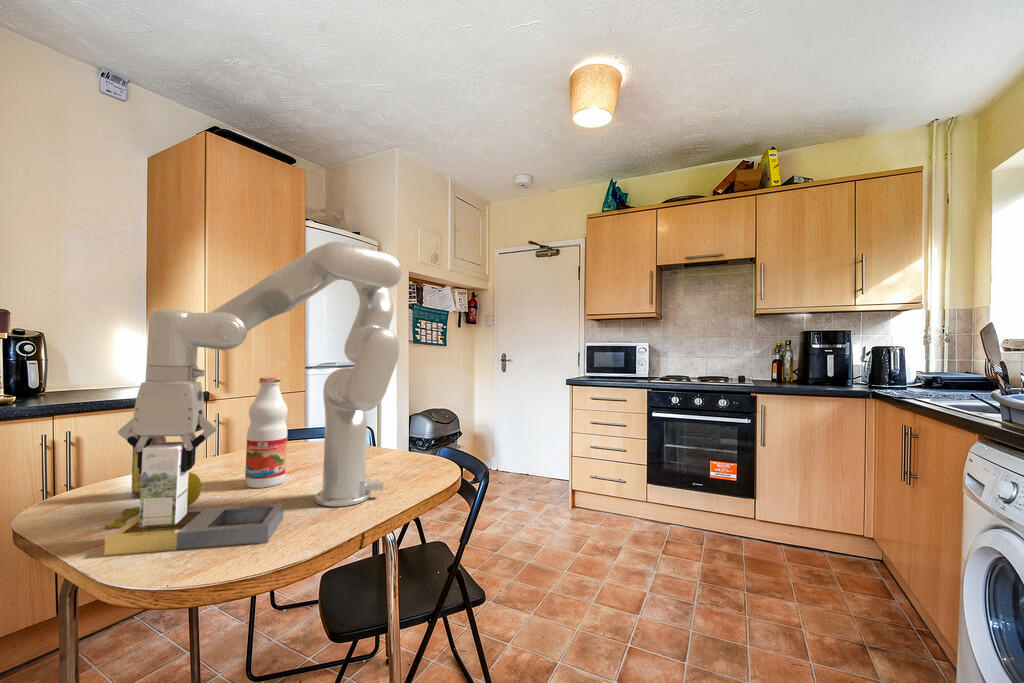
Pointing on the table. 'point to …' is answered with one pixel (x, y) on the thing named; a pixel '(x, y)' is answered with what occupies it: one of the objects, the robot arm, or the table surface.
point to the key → (124, 518)
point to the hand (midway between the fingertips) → (166, 470)
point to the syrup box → (163, 485)
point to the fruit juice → (267, 437)
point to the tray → (198, 530)
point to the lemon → (193, 488)
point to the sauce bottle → (135, 470)
